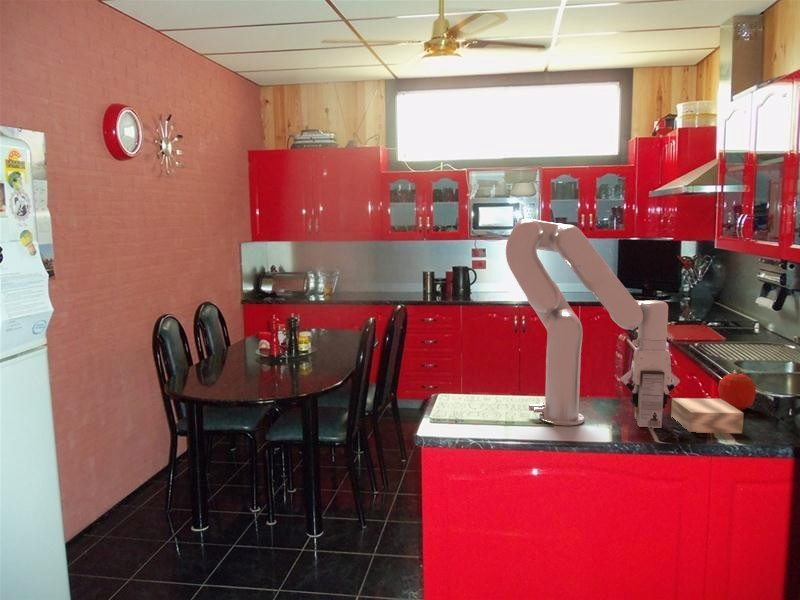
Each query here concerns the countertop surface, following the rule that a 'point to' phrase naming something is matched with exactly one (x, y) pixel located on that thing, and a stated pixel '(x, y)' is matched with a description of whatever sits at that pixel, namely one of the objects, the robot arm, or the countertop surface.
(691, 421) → the beech block
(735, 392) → the apple
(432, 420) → the countertop surface
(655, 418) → the coffee box
